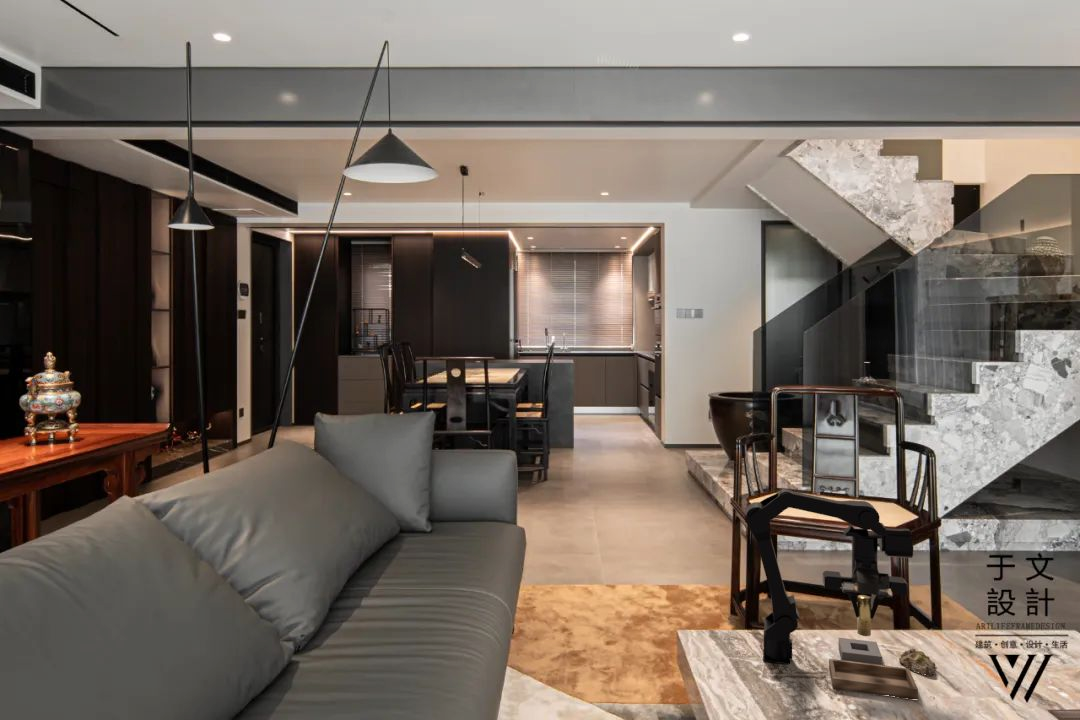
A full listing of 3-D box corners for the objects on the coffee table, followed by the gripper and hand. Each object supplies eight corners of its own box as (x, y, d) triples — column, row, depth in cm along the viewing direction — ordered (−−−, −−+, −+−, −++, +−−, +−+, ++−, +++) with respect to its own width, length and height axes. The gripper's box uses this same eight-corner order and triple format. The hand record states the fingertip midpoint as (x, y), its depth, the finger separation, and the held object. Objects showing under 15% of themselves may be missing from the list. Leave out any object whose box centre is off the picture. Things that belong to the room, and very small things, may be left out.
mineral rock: (890, 648, 177) (922, 640, 176) (895, 664, 177) (927, 657, 176) (908, 669, 166) (942, 661, 165) (913, 686, 166) (947, 678, 165)
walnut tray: (832, 688, 160) (832, 678, 160) (829, 668, 170) (829, 658, 170) (918, 700, 155) (918, 689, 155) (908, 678, 165) (908, 668, 165)
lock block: (842, 663, 173) (842, 651, 173) (838, 648, 181) (838, 637, 181) (881, 668, 170) (881, 656, 170) (876, 653, 178) (876, 641, 178)
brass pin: (858, 635, 169) (858, 598, 169) (856, 630, 172) (856, 594, 172) (871, 636, 168) (872, 600, 168) (869, 631, 171) (870, 595, 171)
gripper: (826, 560, 165) (826, 625, 165) (914, 568, 159) (913, 635, 160) (822, 547, 176) (822, 608, 176) (904, 554, 170) (903, 617, 170)
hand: (864, 617), depth 170 cm, fingers closed on brass pin, 3 cm apart
